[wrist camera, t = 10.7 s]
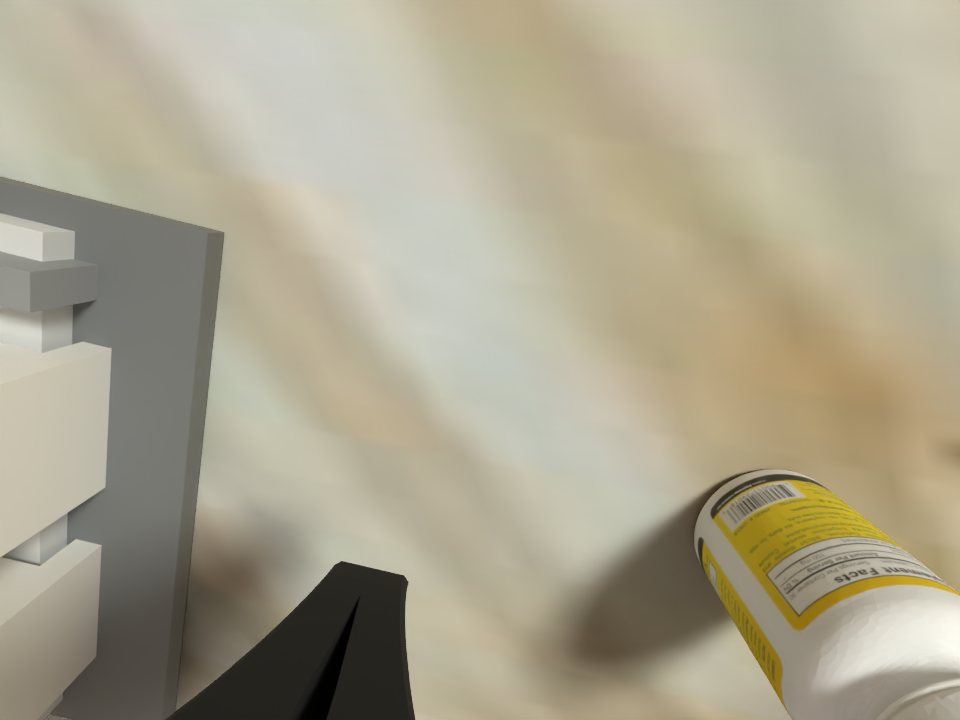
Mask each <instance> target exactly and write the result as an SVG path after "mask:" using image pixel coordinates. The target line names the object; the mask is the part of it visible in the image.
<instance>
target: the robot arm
mask: <svg viewBox="0 0 960 720" xmlns="http://www.w3.org/2000/svg"><path fill="white" fill-rule="evenodd" d="M407 586H408V581H407V579H406V578H405V576H403V575H399V574H395V573H390V572H386V571H382V570H378V569H373V568H369V567H365V566H360V565H356V564H352V563H347V562H343V561H341V562H339V563H338V564H336V565H334V567H333V568H332V569H331V570H330V572H329V573H328V574H327V575H326V576H325V577H324V579H323V580H322V581H321V582H320V583H319V584H318V585H317V586H316V587H315V589H314V590H313V591H312V592H311V593H310V594H309V595H308V596H307V597H306V598H305V599H304V600H303V601H302V602H301V603H300V604H299V605H298V606H297V607H296V608H295V609H294V610H293V611H292V612H291V613H290V614H289V615H288V616H287V617H286V618H285V619H284V620H283V621H282V622H281V623H280V624H279V625H278V626H277V627H275V628H274V629H273V630H272V631H271V632H270V633H269V634H268V635H267V636H266V637H265V638H264V639H263V640H262V641H261V642H259V643H258V644H257V645H256V646H255V647H254V648H253V649H252V650H250V651H249V652H248V653H247V654H246V655H245V656H243V657H242V658H241V659H240V660H239V661H238V662H236V663H235V664H234V665H233V666H232V667H231V668H229V669H228V670H227V671H226V672H225V673H224V674H222V675H221V676H220V677H219V678H218V679H217V680H215V681H214V682H213V683H212V684H210V685H209V686H208V687H207V688H205V689H204V690H203V691H202V692H200V693H199V694H198V695H197V696H195V697H194V698H193V699H192V700H190V701H189V702H188V703H186V704H185V705H184V706H182V707H181V708H180V709H178V710H177V711H176V712H174V713H173V714H172V715H170V716H169V717H168V718H166V719H165V720H415V715H414V709H413V703H412V696H411V689H410V682H409V672H408V662H407V652H406V637H405V601H406V591H407Z"/></svg>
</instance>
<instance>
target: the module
mask: <svg viewBox="0 0 960 720" xmlns="http://www.w3.org/2000/svg"><path fill="white" fill-rule="evenodd" d="M111 349H112V348H108V347H103V346H99V345H95V344H91V343H87V342H80V343H76V344H73V345H69V346H65V347H62V348H58V349H55V350H51V351H48V352H44V353H40V352H36V351H31V350H27V349H23V348H19V347H15V346H10V345H6V344H2V343H0V557H2V556H3V555H5V554H6V553H8V552H9V551H11V550H12V549H14V548H15V547H17V546H18V545H20V544H21V543H23V542H24V541H26V540H27V539H29V538H30V537H32V536H33V535H35V534H36V533H38V532H39V531H41V530H42V529H44V528H45V527H47V526H48V525H50V524H51V523H53V522H54V521H56V520H57V519H59V518H60V517H62V516H63V515H65V514H66V513H68V512H69V511H71V510H72V509H74V508H75V507H77V506H78V505H80V504H81V503H83V502H84V501H86V500H87V499H89V498H90V497H92V496H93V495H95V494H96V493H98V492H99V491H101V490H102V489H104V488H105V485H106V463H107V440H108V417H109V394H110V372H111Z"/></svg>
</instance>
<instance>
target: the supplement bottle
mask: <svg viewBox="0 0 960 720" xmlns="http://www.w3.org/2000/svg"><path fill="white" fill-rule="evenodd" d="M694 545H695V551H696V555H697V558H698V560H699V563H700V565H701V567H702V568H703V570H704V572H705V574H706V576H707V577H708V579H709V581H710V583H711V584H712V586H713V588H714V589H715V591H716V593H717V594H718V596H719V598H720V599H721V601H722V602H723V604H724V606H725V608H726V609H727V611H728V613H729V614H730V616H731V618H732V620H733V621H734V623H735V625H736V626H737V628H738V630H739V631H740V633H741V635H742V636H743V638H744V640H745V641H746V643H747V645H748V647H749V648H750V650H751V652H752V653H753V655H754V656H755V658H756V660H757V661H758V663H759V665H760V667H761V668H762V670H763V672H764V673H765V675H766V676H767V678H768V680H769V682H770V683H771V685H772V687H773V689H774V690H775V692H776V693H777V695H778V697H779V699H780V700H781V702H782V704H783V705H784V707H785V709H786V710H787V712H788V714H789V715H790V717H791V718H792V720H960V594H959V593H958V592H957V591H956V590H954V589H953V588H952V587H951V586H949V585H948V584H947V583H946V582H944V581H943V580H942V579H941V578H939V577H938V576H937V575H935V574H934V573H933V572H932V571H930V570H929V569H928V568H927V567H925V566H924V565H923V564H922V563H920V562H919V561H918V560H917V559H915V558H914V557H913V556H912V555H910V554H909V553H908V552H907V551H905V550H904V549H903V548H902V547H900V546H899V545H898V544H897V543H895V542H894V541H893V540H892V539H890V538H889V537H888V536H887V535H885V534H884V533H883V532H882V531H880V530H879V529H878V528H876V527H875V526H874V525H873V524H871V523H870V522H869V521H868V520H867V519H865V518H864V517H863V516H861V515H860V514H859V513H858V512H856V511H855V510H854V509H853V508H851V507H850V506H849V505H848V504H847V503H845V502H844V501H843V500H841V499H840V498H839V497H838V496H836V495H835V494H833V493H832V492H831V491H829V490H828V489H827V488H825V487H824V486H823V485H821V484H820V483H818V482H817V481H815V480H813V479H812V478H810V477H807V476H805V475H803V474H800V473H797V472H793V471H787V470H780V469H768V470H760V471H755V472H751V473H747V474H744V475H742V476H739V477H737V478H735V479H733V480H731V481H729V482H728V483H726V484H725V485H723V486H722V487H721V488H719V489H718V490H717V491H716V492H715V493H714V494H713V495H712V496H711V497H710V498H709V500H708V501H707V502H706V504H705V505H704V507H703V508H702V510H701V512H700V514H699V517H698V519H697V522H696V526H695V532H694Z"/></svg>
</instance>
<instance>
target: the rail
mask: <svg viewBox="0 0 960 720" xmlns="http://www.w3.org/2000/svg"><path fill="white" fill-rule="evenodd" d="M223 240H224V232H220V231H216V230H212V229H208V228H204V227H200V226H196V225H192V224H188V223H184V222H180V221H176V220H172V219H168V218H164V217H160V216H156V215H152V214H148V213H144V212H140V211H136V210H132V209H128V208H124V207H120V206H116V205H112V204H108V203H104V202H100V201H96V200H92V199H88V198H84V197H80V196H76V195H72V194H68V193H64V192H60V191H56V190H52V189H48V188H44V187H40V186H36V185H32V184H28V183H24V182H20V181H16V180H12V179H8V178H4V177H0V343H2V344H6V345H10V346H15V347H19V348H23V349H27V350H31V351H36V352H40V353H44V352H48V351H51V350H55V349H58V348H62V347H65V346H69V345H73V344H76V343H80V342H87V343H91V344H95V345H99V346H103V347H108V348H112V349H111V372H110V394H109V417H108V440H107V463H106V485H105V488H104V489H102V490H101V491H99V492H98V493H96V494H95V495H93V496H92V497H90V498H89V499H87V500H86V501H84V502H83V503H81V504H80V505H78V506H77V507H75V508H74V509H72V510H71V511H69V512H68V513H66V514H65V515H63V516H62V517H60V518H59V519H57V520H56V521H54V522H53V523H51V524H50V525H48V526H47V527H45V528H44V529H42V530H41V531H39V532H38V533H36V534H35V535H33V536H32V537H30V538H29V539H27V540H26V541H24V542H23V543H21V544H20V545H18V546H17V547H15V548H14V549H12V550H11V551H9V552H8V553H6V554H5V555H3V556H2V557H0V720H44V719H45V718H46V717H47V716H48V715H49V714H51V715H56V716H60V717H64V718H69V719H73V720H165V719H166V718H168V717H169V716H170V715H172V714H173V713H174V712H175V706H176V696H177V686H178V676H179V667H180V657H181V647H182V638H183V628H184V618H185V609H186V599H187V589H188V580H189V570H190V560H191V551H192V541H193V531H194V521H195V512H196V502H197V492H198V483H199V473H200V463H201V454H202V444H203V434H204V425H205V415H206V405H207V395H208V386H209V376H210V366H211V357H212V347H213V337H214V328H215V318H216V308H217V299H218V289H219V279H220V270H221V260H222V250H223Z"/></svg>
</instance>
